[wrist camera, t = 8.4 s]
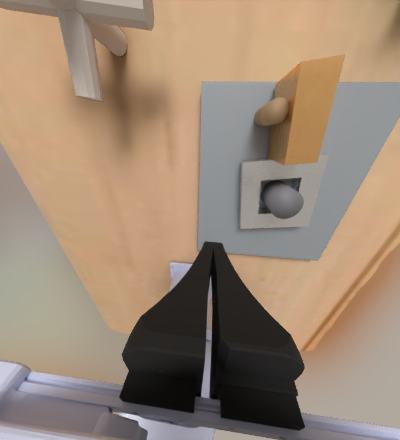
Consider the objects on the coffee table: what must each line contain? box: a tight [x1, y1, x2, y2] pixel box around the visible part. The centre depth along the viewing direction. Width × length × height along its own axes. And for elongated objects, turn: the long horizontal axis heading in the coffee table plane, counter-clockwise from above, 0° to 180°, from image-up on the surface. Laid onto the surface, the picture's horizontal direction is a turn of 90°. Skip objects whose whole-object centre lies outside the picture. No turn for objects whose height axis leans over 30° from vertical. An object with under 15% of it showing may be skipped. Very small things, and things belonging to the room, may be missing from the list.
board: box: [198, 82, 400, 261], centre depth 17 cm, size 20×18×5 cm
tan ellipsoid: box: [254, 97, 289, 127], centre depth 13 cm, size 2×2×4 cm
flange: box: [239, 55, 345, 229], centre depth 14 cm, size 14×8×4 cm, turn 6°
